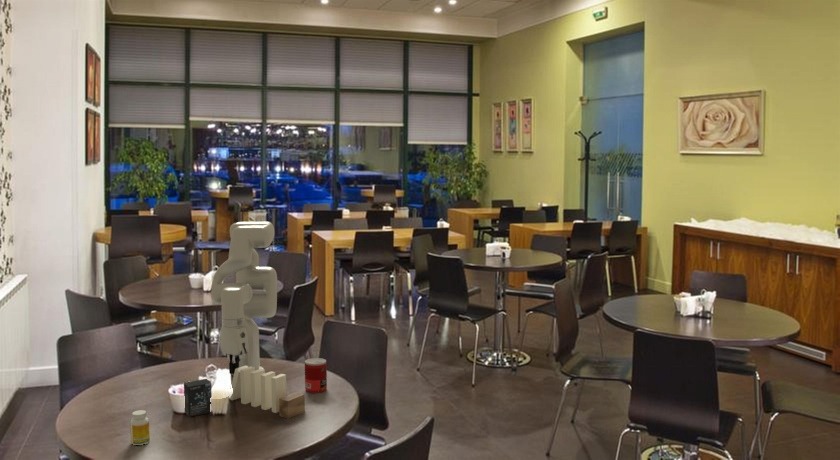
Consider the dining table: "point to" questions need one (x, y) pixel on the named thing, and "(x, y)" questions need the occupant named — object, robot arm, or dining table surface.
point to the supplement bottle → (139, 428)
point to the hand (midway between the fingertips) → (234, 372)
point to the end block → (291, 405)
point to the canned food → (315, 375)
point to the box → (197, 397)
